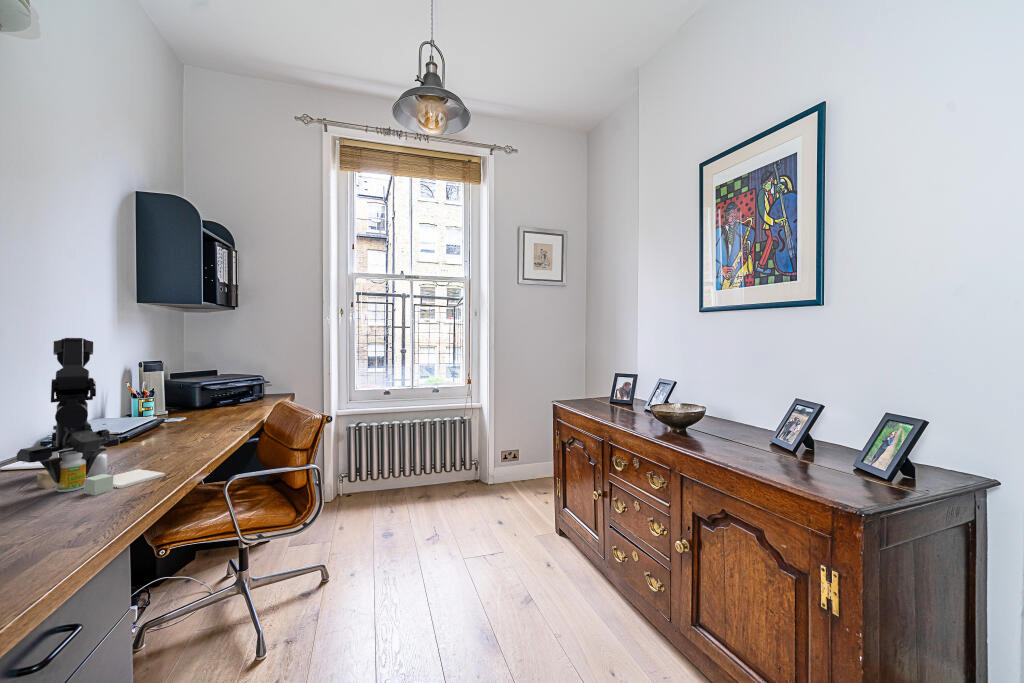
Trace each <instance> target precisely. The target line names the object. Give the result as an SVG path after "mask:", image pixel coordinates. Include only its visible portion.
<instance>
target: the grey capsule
mask: <svg viewBox="0 0 1024 683" xmlns="http://www.w3.org/2000/svg"><path fill="white" fill-rule="evenodd" d="M101 474H107V475H108V454H107V453H100V454H99V455H98V456H97V457H96V459H95V461H94V462H93V464H92V467H91V469H90V471H89V473H88V475H87V478H89V477H93V476H97V475H101Z"/></svg>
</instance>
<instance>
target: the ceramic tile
mask: <svg viewBox="0 0 1024 683" xmlns="http://www.w3.org/2000/svg"><path fill="white" fill-rule="evenodd" d="M165 476H166V473H164V472H160V471H153V470H146V469H140V468H138V469H134V470H130V471H126V472H122V473H118V474H115V475H113V488H116V487H117V489H123V488H127V487H131V486H134V485H138V484H141V483H145V482H148V481H151V480H155V479H158V478H161V477H165Z"/></svg>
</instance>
